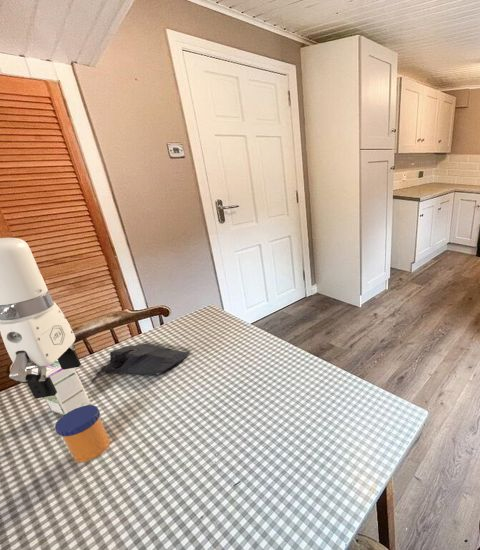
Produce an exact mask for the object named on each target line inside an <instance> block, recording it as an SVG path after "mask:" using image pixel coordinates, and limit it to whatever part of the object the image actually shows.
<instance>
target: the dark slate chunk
mask: <svg viewBox="0 0 480 550" xmlns="http://www.w3.org/2000/svg"><path fill="white" fill-rule="evenodd" d="M109 354H110V359H109V364H108V365H107V366H105V367H104V368H103V369H101V371H102V372H104V373H114V374H121V375H123V374H124V375H129V374H135V375H140V376H141V375H148V376H154V375H161V374H162V373H164V372H166V371H167V370H169V369H170V368H172V367H173V366H174V365H176V364H178V363H180V362H181V361H183V360H185V359H186V358H187V357H188V356H189V354H190V352H188V351H182V350H181V351H180V350H178V349H173V348H170V347H164V346H161V345H157V344H151V343H142V344H136V345H125V346H122V347H120V348H117V349H114V350H112V351H110V353H109Z"/></svg>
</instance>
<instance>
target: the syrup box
mask: <svg viewBox="0 0 480 550" xmlns="http://www.w3.org/2000/svg"><path fill="white" fill-rule="evenodd" d="M32 374H36V375H38V368H35V369H32ZM46 377H50V378H51V380H52V382H53V385H54V387H55V389H56V391H57V393H56V394H55V395H54V396H49V397H43V398H44V400H45V402H46V404H47V406H48V408H49V409H50V411H52V412H54V413H57V414H61V415H63V416H64V415H65V414H66V413H68V412H70V411H72V410H74V409H76V408H79V407H82V406H87V405H91V400H90V398H89V396H88V394H87V392H86V390H85V388H84V385H83V383H82V381H81V379H80V377H79V375H78V373H77V371H76V368H71V369H65V370H63V369H62V368H61V366H60V364H59V362H58V360H56V361H55V362H54V363H53V364H51V365H49V366H46Z"/></svg>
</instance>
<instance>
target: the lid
mask: <svg viewBox="0 0 480 550" xmlns="http://www.w3.org/2000/svg"><path fill="white" fill-rule="evenodd" d="M99 417H100V418H101V412H100V409H99V407H98V406H96V405H93V404H89V405H87V406H82V407H79V408H76V409H74V410H72V411H70V412H68V413H66V414H65V415H64V414H63V415H62V416H61V417H60V418H59V419H58V420H57V421H56V422H55V425H54V429H55V432H56V434H57V435H58V436H61V437H62V436H72V435H75V434H78V433H80V432H83V431H85V430H86V429H88V428H89V427H91V426H92V425H93V424H95V423H96V421H97V420H98V419H99Z"/></svg>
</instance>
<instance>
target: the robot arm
mask: <svg viewBox="0 0 480 550" xmlns="http://www.w3.org/2000/svg"><path fill="white" fill-rule="evenodd" d="M0 336H1V338H2V341H3V344H4V348H5V349H6V351H7V354H8V357H9V358H10V360H11V362H12V363H13V364H12V367H11V369H10V372H9V374H8V377H9V379H11V380H14V381H16V382H17V383H20V384H23V385H27V386H28V388H29V389H30V391H31V394H32V395H33V397H34V399H36V400H37V399H43V398H44V397H49V396H54V395H55V394H56V393H57V391H56V389H55V387H54V385H53V382H52V380H51V378H50V377H46V366H49V365H51V364H53V363H54V362H55V361H56V360H58V362H59V364H60V366H61V368H62V369H63V370H65V369H71V368H74V369H76V368H80V367H81V365H82V363H81V361H80V359H79V356H78V354H77V352H76V345H75V341H76V335H75V333H74V331H73V326H72V325H70V323H69V321H68V319H67V318H66V316H65V313H63V311H62V309H61V308H60V306H58V304H57V303H56V302H55V301H54V300H53V298H52V296H51V293H50V291H49V289H48V286H47V285H46V282H45V279H44V278H43V275H42V273H41V270H40V268H39V266H38V264H37V261H36V258H35V257H34V255H33V253H32V250H31V248H30V246H29V244H28V242H26V241H25V240H24V239H21V238H18V237H0ZM35 368H38V375H36V374H32V369H35Z"/></svg>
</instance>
